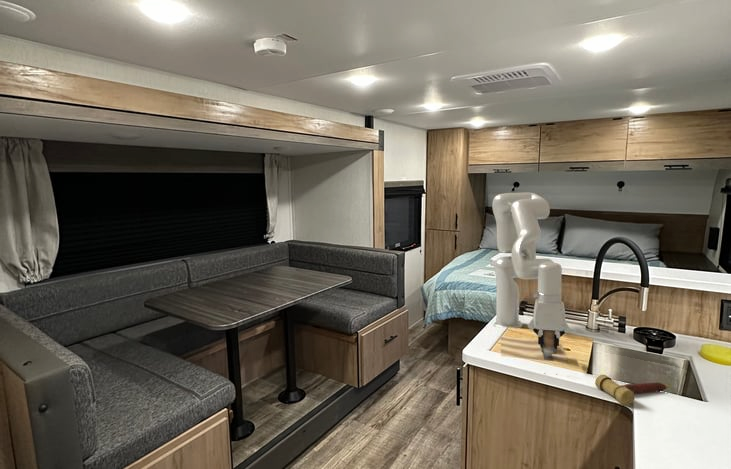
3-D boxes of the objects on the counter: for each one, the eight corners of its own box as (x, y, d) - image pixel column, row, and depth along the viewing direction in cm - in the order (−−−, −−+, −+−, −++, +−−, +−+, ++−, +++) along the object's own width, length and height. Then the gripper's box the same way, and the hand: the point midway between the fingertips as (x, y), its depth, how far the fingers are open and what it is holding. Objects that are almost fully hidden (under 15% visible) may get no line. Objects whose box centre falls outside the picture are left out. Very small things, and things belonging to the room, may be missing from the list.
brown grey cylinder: (541, 349, 141) (541, 326, 140) (553, 351, 139) (554, 327, 138) (542, 354, 137) (543, 330, 136) (555, 355, 135) (555, 331, 134)
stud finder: (539, 344, 148) (540, 337, 148) (554, 346, 147) (554, 338, 146) (541, 352, 142) (541, 344, 142) (556, 353, 140) (556, 345, 140)
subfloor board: (500, 339, 158) (500, 336, 158) (559, 345, 151) (559, 341, 151) (501, 359, 140) (501, 355, 140) (568, 366, 133) (568, 362, 133)
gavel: (654, 371, 122) (685, 387, 112) (653, 385, 122) (683, 402, 112) (595, 374, 118) (621, 391, 109) (594, 388, 119) (620, 406, 109)
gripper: (524, 299, 135) (523, 348, 137) (577, 301, 129) (576, 353, 132) (523, 293, 142) (522, 341, 144) (573, 295, 137) (572, 345, 139)
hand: (548, 346), depth 138 cm, fingers closed on brown grey cylinder, 4 cm apart
